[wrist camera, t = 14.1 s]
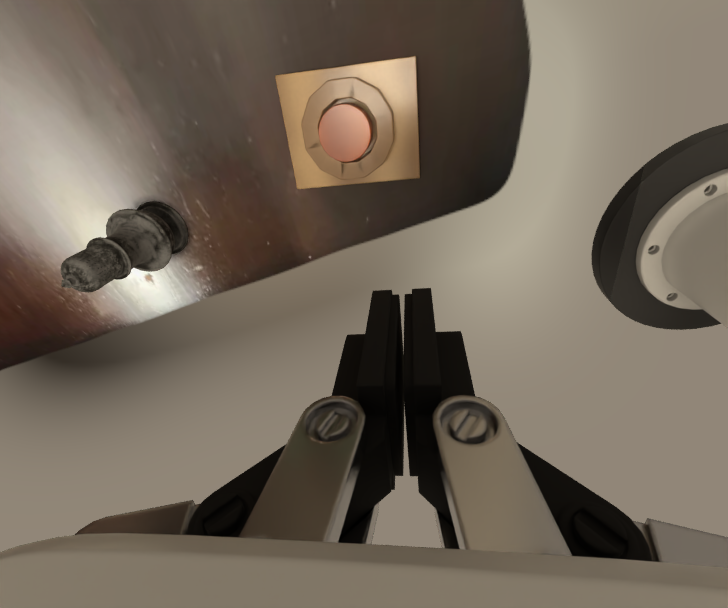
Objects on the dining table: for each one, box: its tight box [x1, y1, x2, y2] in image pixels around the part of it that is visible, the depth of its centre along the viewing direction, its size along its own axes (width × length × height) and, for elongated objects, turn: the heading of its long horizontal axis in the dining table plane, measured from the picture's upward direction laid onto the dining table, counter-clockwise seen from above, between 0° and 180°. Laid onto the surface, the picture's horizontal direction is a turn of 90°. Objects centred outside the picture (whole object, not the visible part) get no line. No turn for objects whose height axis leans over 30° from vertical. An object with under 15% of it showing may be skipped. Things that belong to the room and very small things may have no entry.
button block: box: [275, 56, 420, 189], centre depth 27 cm, size 10×8×4 cm
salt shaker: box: [61, 201, 188, 292], centre depth 30 cm, size 6×6×12 cm
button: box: [318, 103, 373, 162], centre depth 25 cm, size 4×4×2 cm
